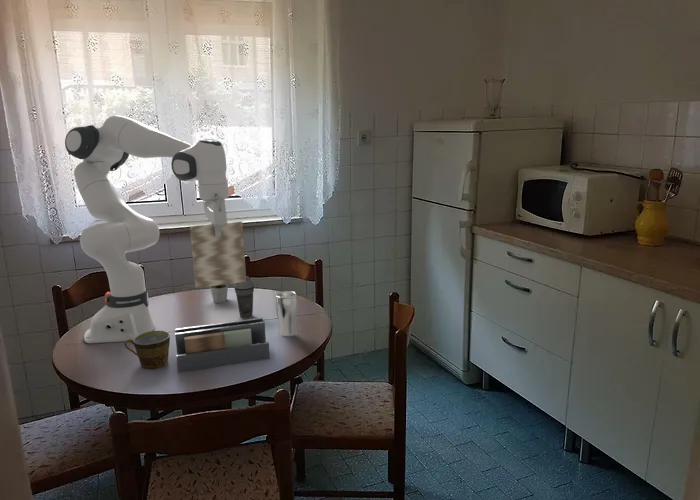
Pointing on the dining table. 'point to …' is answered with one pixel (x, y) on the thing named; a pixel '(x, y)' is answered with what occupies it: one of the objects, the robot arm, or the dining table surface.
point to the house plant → (219, 293)
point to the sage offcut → (237, 338)
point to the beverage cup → (245, 297)
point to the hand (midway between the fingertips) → (217, 235)
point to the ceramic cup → (151, 349)
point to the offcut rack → (224, 355)
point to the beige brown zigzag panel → (218, 254)
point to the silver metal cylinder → (287, 312)
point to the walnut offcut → (204, 342)
